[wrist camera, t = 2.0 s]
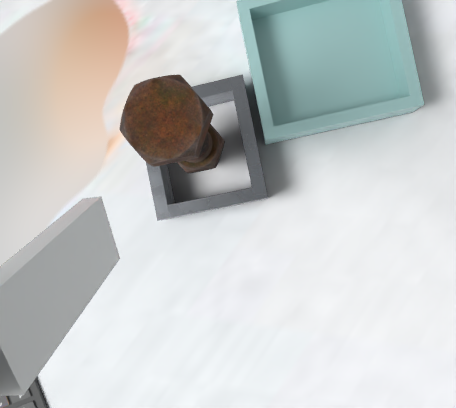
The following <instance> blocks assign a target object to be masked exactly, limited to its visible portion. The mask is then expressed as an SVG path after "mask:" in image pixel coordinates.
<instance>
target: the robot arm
mask: <svg viewBox="0 0 456 408" xmlns="http://www.w3.org/2000/svg"><path fill="white" fill-rule="evenodd" d="M119 259H120V257H119V254H118V250H117V247H116V244H115V241H114V237H113V234H112V231H111V227H110V224H109V221H108V217H107V214H106V211H105V208H104V204H103V201H102V198H101V197H94V198H86V199H82V200H81V201H80V202H78V203H77V204H76V205H75V206H73V207H72V208H71V209H70V210H69V211H67V212H66V213H65V214H64V215H62V216H61V217H60V218H59V219H58V220H56V221H55V222H54V223H53V224H51V225H50V226H49V227H48V228H46V229H45V230H44V231H43V232H42V233H40V234H39V235H38V236H37V237H35V238H34V239H33V240H32V241H31V242H29V243H28V244H27V245H26V246H24V247H23V248H22V249H21V250H19V251H18V252H17V253H16V254H15V255H14V256H12V257H11V258H10V259H8V260H7V261H6V262H5V263H4V264H3V265H1V266H0V396H11V395H24V394H25V393H26V391H27V390H28V388H29V387H30V386H31V384H32V383H33V381H34V380H35V378H36V377H37V376H38V374H39V373H40V371H41V370H42V368H43V367H44V366H45V364H46V363H47V361H48V360H49V359H50V357H51V356H52V354H53V353H54V351H55V350H56V349H57V347H58V346H59V344H60V343H61V341H62V340H63V339H64V337H65V336H66V334H67V333H68V332H69V330H70V329H71V327H72V326H73V324H74V323H75V322H76V320H77V319H78V317H79V316H80V314H81V313H82V312H83V310H84V309H85V307H86V306H87V305H88V303H89V302H90V300H91V299H92V297H93V296H94V295H95V293H96V292H97V290H98V289H99V287H100V286H101V285H102V283H103V282H104V280H105V279H106V278H107V276H108V275H109V273H110V272H111V270H112V269H113V268H114V266H115V265H116V263H117V262H118V261H119Z"/></svg>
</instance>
